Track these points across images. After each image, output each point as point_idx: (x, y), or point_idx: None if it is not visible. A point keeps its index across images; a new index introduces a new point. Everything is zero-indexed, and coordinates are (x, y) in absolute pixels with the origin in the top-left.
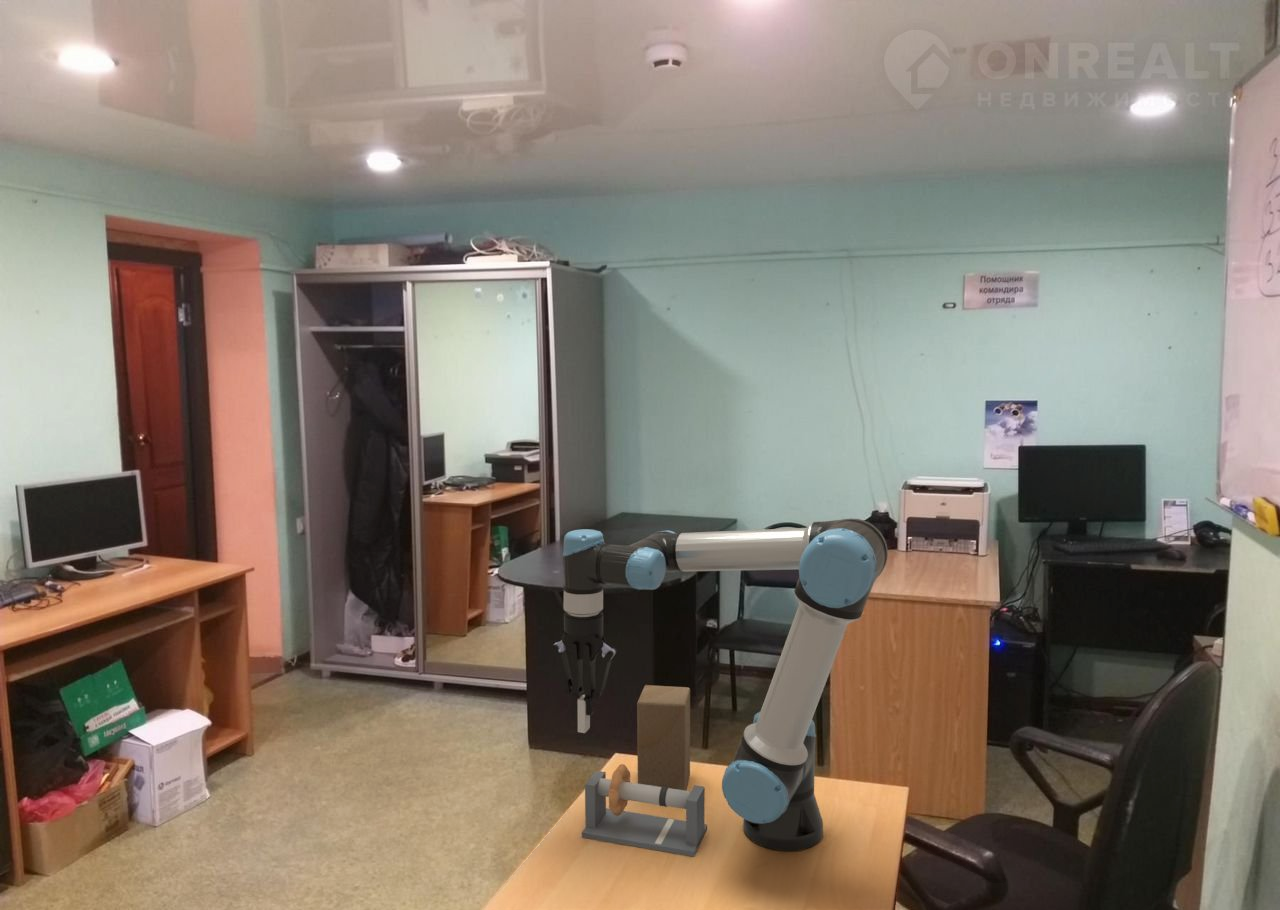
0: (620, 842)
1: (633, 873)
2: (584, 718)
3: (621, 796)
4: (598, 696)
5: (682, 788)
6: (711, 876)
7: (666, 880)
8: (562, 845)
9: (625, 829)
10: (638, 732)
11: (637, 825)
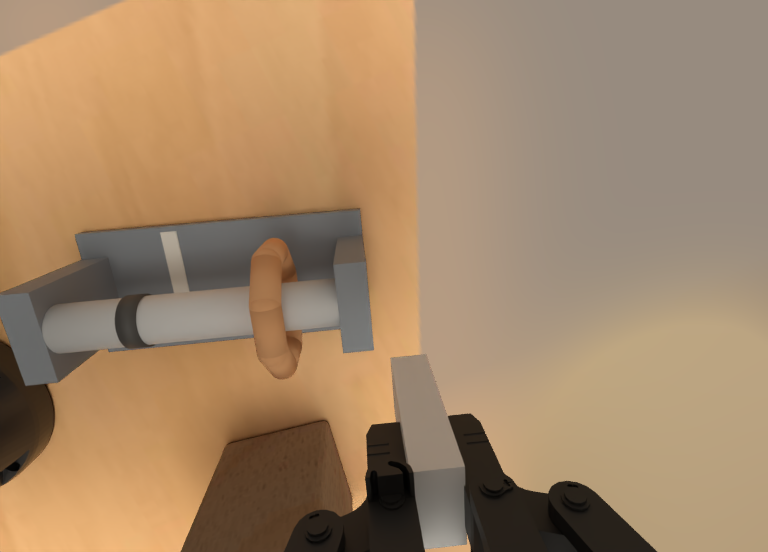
0: (262, 217)
1: (174, 112)
2: (399, 397)
3: None
4: (302, 524)
5: (224, 455)
6: (2, 171)
7: (88, 114)
8: (385, 160)
9: None
10: None
11: None
